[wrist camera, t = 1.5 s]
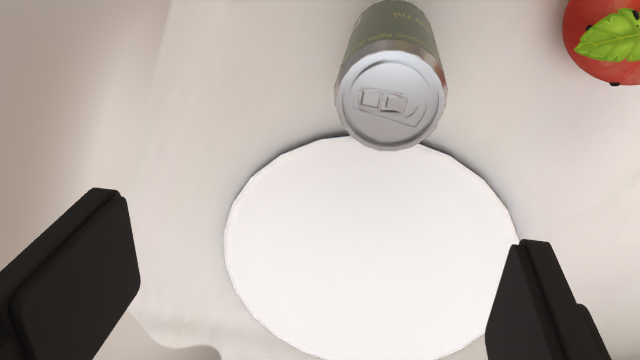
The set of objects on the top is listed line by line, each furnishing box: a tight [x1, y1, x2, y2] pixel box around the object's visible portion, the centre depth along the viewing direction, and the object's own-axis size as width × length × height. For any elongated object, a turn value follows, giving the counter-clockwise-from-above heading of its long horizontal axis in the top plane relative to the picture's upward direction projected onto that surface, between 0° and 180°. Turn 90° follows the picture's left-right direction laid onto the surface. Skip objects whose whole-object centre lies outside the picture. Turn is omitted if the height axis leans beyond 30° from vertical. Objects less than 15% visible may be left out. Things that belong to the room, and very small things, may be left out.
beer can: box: [334, 0, 448, 152], centre depth 28 cm, size 5×5×12 cm
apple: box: [562, 0, 640, 86], centre depth 26 cm, size 8×7×10 cm
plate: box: [224, 135, 519, 360], centre depth 42 cm, size 25×25×1 cm
